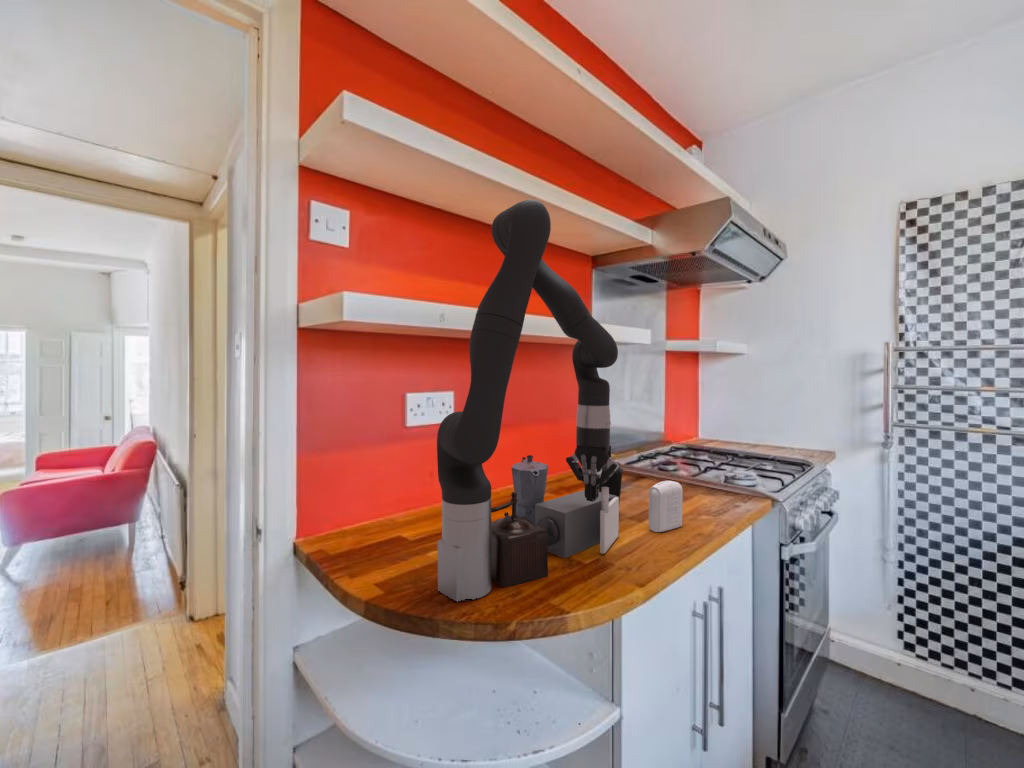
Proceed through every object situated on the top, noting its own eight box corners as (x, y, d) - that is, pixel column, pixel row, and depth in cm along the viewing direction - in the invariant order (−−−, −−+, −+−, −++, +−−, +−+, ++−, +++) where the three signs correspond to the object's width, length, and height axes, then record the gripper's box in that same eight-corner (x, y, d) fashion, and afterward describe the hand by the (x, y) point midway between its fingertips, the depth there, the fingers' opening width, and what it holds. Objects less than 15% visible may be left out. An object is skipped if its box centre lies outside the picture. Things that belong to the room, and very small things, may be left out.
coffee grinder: (522, 556, 98) (522, 475, 98) (549, 576, 88) (549, 487, 88) (456, 571, 91) (456, 484, 90) (478, 595, 81) (477, 497, 80)
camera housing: (561, 560, 96) (561, 514, 96) (531, 548, 102) (531, 505, 102) (616, 535, 111) (616, 495, 110) (586, 526, 117) (587, 489, 117)
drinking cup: (621, 511, 130) (621, 443, 129) (625, 520, 122) (625, 448, 122) (594, 511, 130) (595, 443, 130) (597, 519, 123) (597, 447, 122)
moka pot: (519, 544, 105) (519, 460, 104) (503, 523, 119) (502, 450, 119) (556, 540, 107) (556, 458, 107) (536, 520, 122) (536, 448, 122)
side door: (607, 554, 98) (607, 489, 98) (600, 552, 99) (600, 488, 98) (621, 535, 109) (621, 477, 109) (615, 534, 110) (615, 476, 110)
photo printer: (671, 522, 121) (671, 477, 120) (684, 526, 117) (685, 480, 117) (645, 529, 115) (646, 482, 115) (659, 534, 111) (659, 485, 111)
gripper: (559, 423, 101) (558, 499, 102) (614, 429, 93) (612, 510, 94) (574, 421, 107) (573, 492, 108) (627, 425, 99) (625, 502, 100)
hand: (591, 500), depth 101 cm, fingers closed
